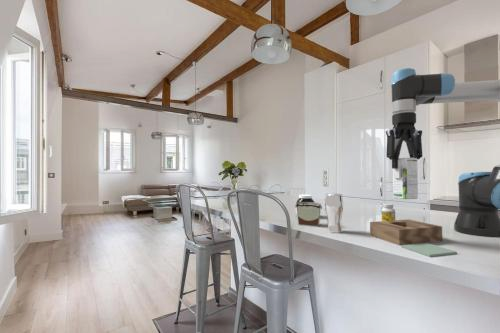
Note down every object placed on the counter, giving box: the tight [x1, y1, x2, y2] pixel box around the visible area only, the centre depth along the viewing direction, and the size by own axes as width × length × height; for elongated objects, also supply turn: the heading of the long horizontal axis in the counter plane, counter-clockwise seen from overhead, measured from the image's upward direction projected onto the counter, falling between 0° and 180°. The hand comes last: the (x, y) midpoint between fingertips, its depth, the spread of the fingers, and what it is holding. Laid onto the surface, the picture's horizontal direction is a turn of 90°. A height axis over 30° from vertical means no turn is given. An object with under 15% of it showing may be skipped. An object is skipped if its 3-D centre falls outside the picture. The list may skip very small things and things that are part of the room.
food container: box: [294, 201, 323, 228], centre depth 123 cm, size 12×6×10 cm, turn 58°
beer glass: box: [324, 193, 344, 234], centre depth 109 cm, size 7×7×15 cm
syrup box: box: [392, 157, 419, 200], centre depth 96 cm, size 6×6×14 cm
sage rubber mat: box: [401, 242, 458, 258], centre depth 83 cm, size 10×10×1 cm
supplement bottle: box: [381, 203, 396, 221], centre depth 118 cm, size 5×5×10 cm
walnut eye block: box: [369, 218, 443, 246], centre depth 97 cm, size 18×14×5 cm
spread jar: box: [295, 194, 315, 215], centre depth 145 cm, size 12×11×12 cm
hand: (404, 177), depth 96 cm, fingers closed on syrup box, 6 cm apart
